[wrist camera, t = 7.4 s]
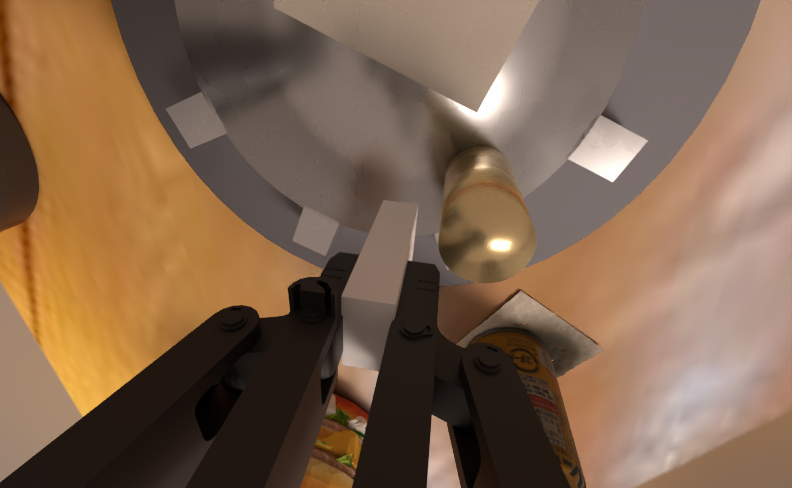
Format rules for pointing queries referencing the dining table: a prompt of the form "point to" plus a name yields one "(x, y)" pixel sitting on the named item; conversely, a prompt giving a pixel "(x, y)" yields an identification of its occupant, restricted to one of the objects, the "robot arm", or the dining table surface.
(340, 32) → the grey disc with blocks
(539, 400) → the condiment
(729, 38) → the base
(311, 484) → the burger
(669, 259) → the dining table surface
